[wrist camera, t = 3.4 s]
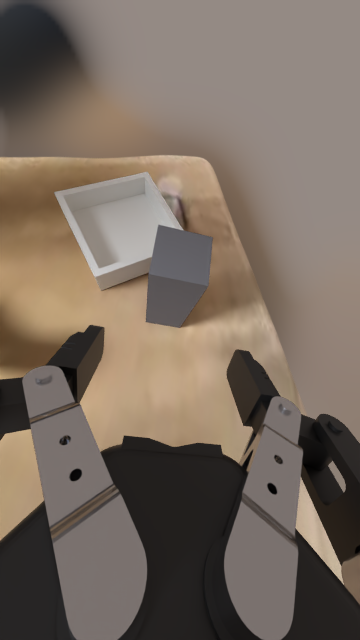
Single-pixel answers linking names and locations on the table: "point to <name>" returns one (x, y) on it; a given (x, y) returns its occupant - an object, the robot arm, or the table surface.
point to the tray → (117, 225)
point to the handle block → (177, 275)
